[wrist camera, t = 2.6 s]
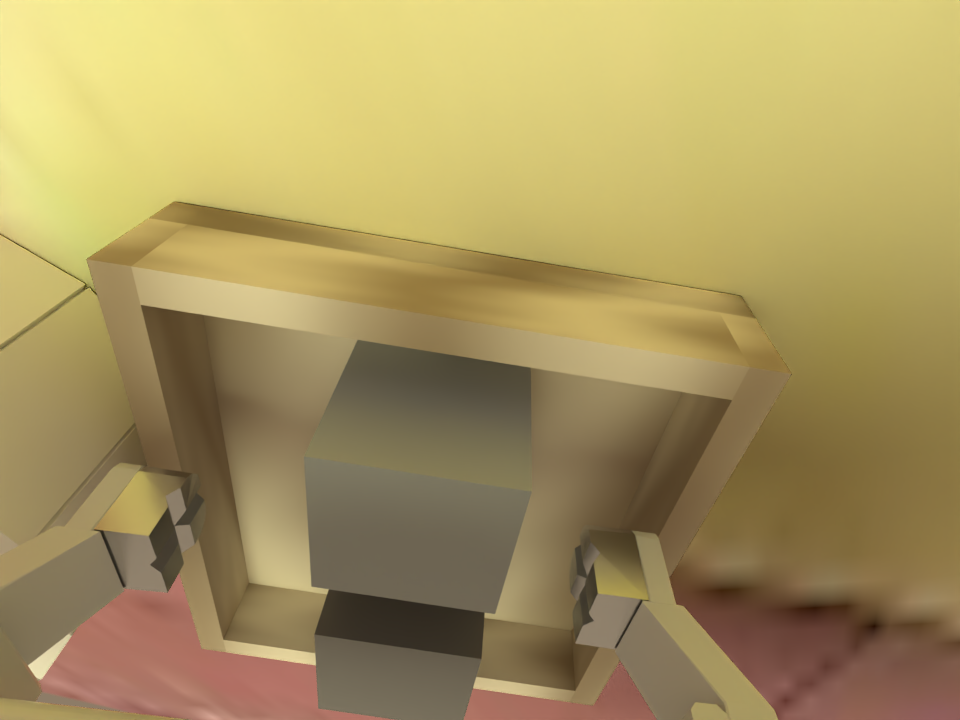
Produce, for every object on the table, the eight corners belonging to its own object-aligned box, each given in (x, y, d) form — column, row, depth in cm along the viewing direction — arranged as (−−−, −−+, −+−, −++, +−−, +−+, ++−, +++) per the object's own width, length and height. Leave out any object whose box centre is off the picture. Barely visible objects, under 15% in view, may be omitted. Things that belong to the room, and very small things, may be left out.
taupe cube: (530, 359, 13) (532, 491, 10) (502, 476, 15) (495, 613, 12) (360, 332, 13) (304, 455, 10) (358, 453, 15) (311, 586, 12)
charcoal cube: (490, 522, 16) (481, 659, 13) (472, 596, 19) (460, 728, 15) (356, 501, 16) (314, 634, 13) (355, 578, 19) (318, 708, 15)
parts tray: (741, 295, 13) (792, 374, 10) (585, 618, 21) (593, 705, 18) (173, 202, 12) (85, 259, 10) (240, 567, 20) (201, 648, 18)
